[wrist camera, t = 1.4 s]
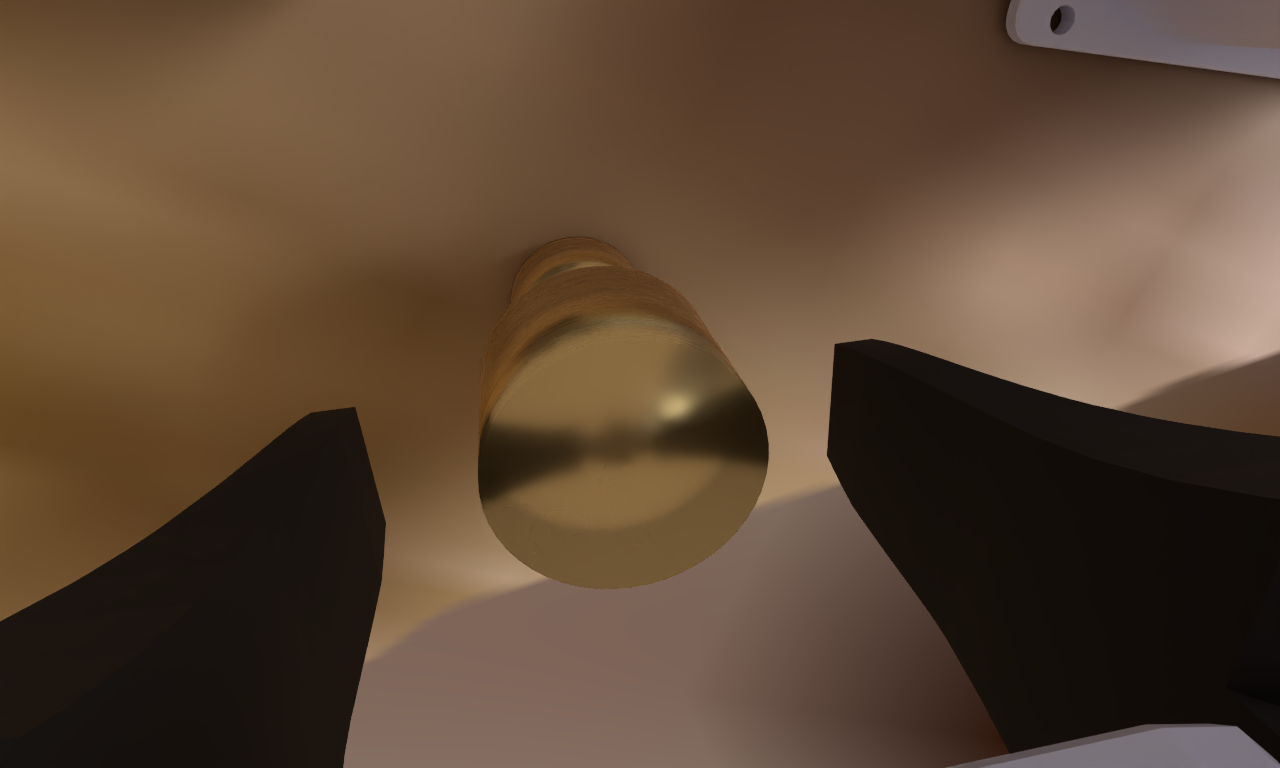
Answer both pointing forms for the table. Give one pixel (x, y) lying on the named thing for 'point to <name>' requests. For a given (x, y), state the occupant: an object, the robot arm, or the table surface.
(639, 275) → the peg
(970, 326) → the table surface
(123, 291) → the table surface
